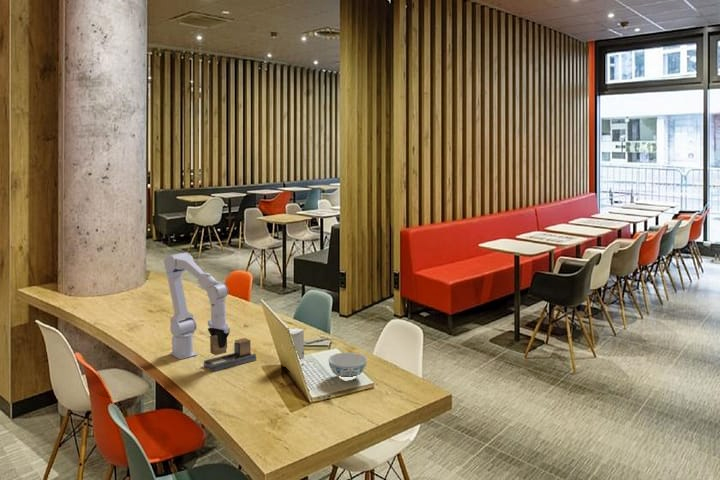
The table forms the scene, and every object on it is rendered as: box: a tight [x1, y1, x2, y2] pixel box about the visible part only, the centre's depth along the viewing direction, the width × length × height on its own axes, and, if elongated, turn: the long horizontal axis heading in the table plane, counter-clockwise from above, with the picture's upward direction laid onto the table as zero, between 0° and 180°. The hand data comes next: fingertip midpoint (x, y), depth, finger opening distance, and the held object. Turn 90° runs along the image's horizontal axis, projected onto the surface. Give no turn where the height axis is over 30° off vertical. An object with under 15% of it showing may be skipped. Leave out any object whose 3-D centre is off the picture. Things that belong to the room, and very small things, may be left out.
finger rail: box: [203, 337, 257, 373], centre depth 241 cm, size 8×20×8 cm, turn 133°
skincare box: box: [288, 327, 305, 360], centre depth 239 cm, size 8×6×15 cm
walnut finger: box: [209, 335, 228, 356], centre depth 237 cm, size 4×6×7 cm
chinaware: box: [327, 352, 368, 377], centre depth 227 cm, size 15×15×8 cm
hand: (219, 346), depth 237 cm, fingers closed on walnut finger, 4 cm apart
